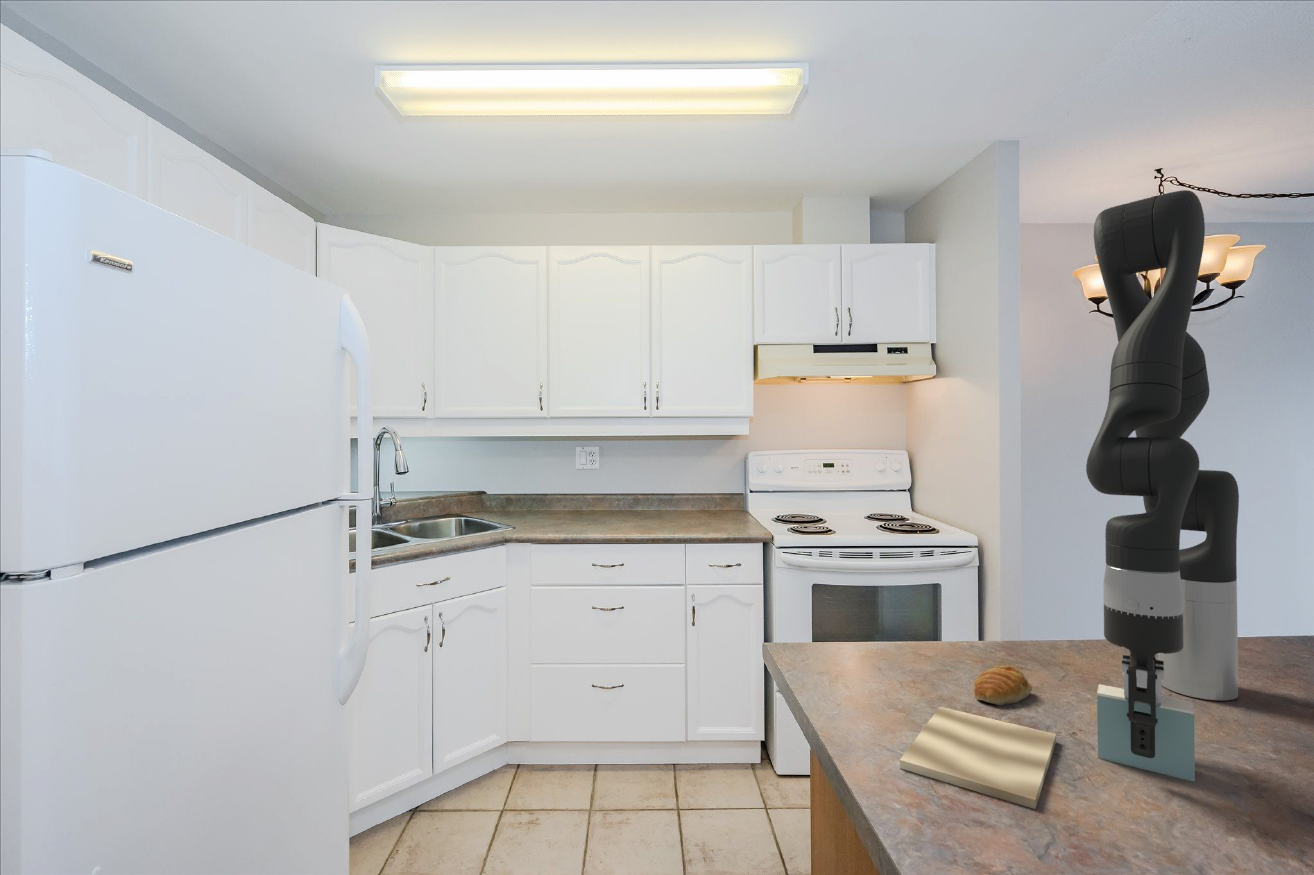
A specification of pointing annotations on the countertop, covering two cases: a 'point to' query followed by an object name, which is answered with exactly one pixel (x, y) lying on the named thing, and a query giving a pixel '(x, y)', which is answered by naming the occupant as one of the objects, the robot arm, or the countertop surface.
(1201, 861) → the countertop surface
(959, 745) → the board
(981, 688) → the pastry
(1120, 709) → the slab
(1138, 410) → the robot arm
